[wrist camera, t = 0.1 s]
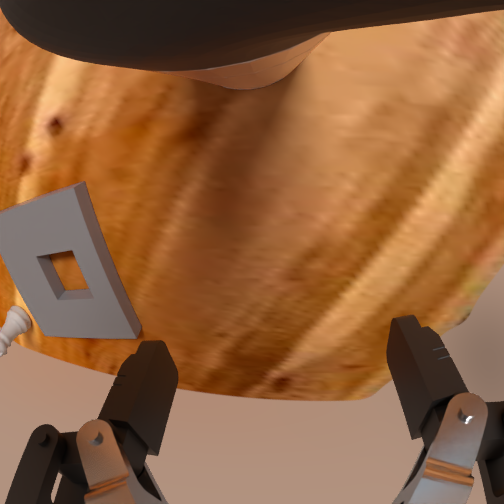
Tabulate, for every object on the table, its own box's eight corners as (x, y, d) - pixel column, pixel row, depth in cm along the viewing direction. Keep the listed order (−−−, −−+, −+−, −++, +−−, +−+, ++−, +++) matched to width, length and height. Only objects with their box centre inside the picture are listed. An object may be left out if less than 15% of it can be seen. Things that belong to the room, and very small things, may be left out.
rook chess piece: (15, 299, 33) (-14, 334, 26) (35, 320, 35) (9, 357, 28) (9, 311, 35) (-17, 344, 28) (28, 330, 37) (4, 365, 30)
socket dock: (-4, 212, 27) (-14, 219, 25) (84, 181, 25) (73, 187, 23) (51, 326, 35) (45, 335, 34) (141, 327, 33) (136, 338, 32)
